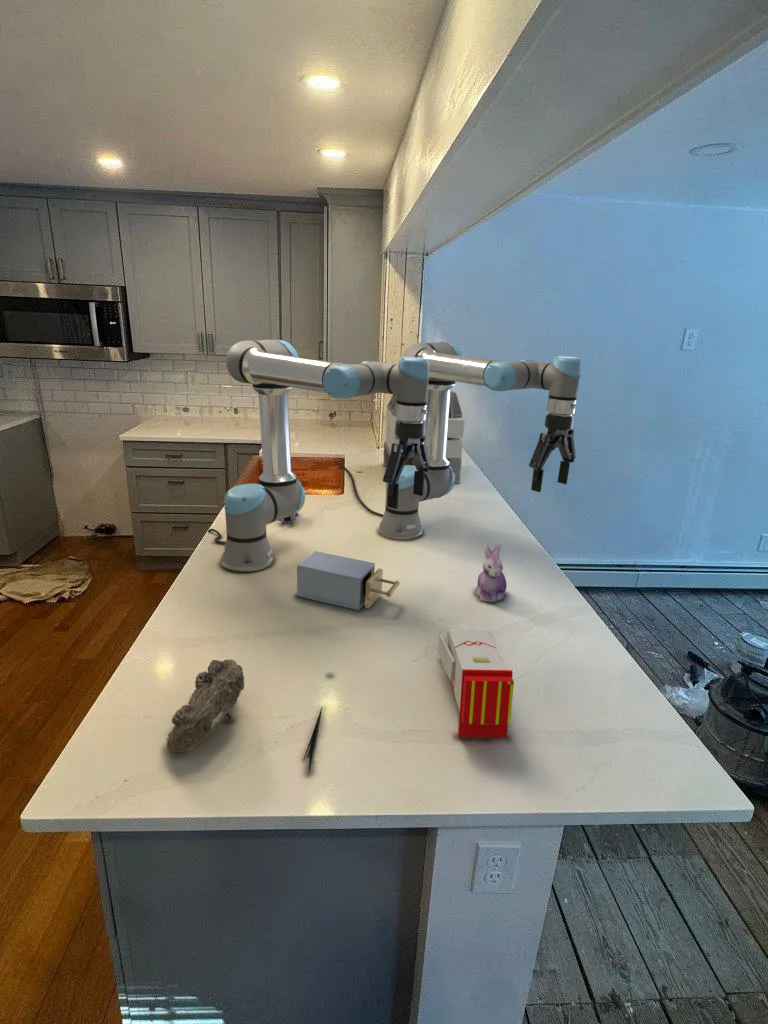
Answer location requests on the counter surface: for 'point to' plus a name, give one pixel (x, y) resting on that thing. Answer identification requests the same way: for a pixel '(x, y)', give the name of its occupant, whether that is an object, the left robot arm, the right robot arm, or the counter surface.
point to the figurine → (491, 577)
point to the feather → (313, 740)
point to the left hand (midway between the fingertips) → (405, 501)
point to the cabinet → (332, 579)
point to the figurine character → (290, 518)
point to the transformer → (453, 434)
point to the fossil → (206, 705)
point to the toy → (478, 682)
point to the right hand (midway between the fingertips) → (549, 486)
